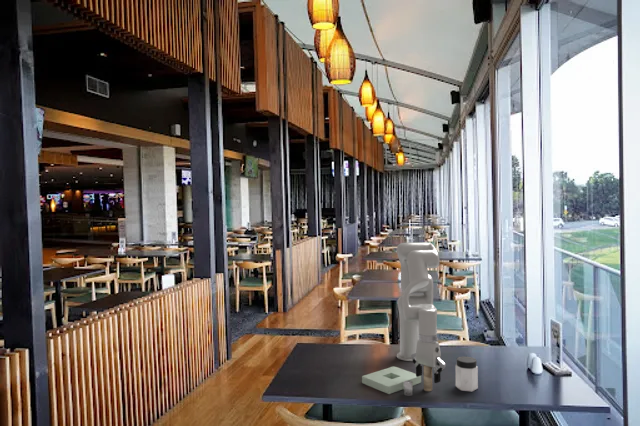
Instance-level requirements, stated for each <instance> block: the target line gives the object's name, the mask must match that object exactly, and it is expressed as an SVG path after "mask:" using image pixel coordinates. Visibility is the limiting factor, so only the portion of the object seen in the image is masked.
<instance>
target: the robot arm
mask: <svg viewBox="0 0 640 426" xmlns="http://www.w3.org/2000/svg"><path fill="white" fill-rule="evenodd" d="M396 254H397V258H398V259H399V263H400V288H401V291H402V292H403V293H402V295H400V296H399V297H398V299H397V309H398V316H399V352H397V354H396V358H397V359H398V360H401V361H405V362H412V363H413V364H414V367H415V374H416V377H418V376H421V377H422V376H423V366H424V365H425V366H428V367H432V370H433V371H434V374H433V377H434V378H433V380H434V381H433V383H434V384H438V383H440V382H441V373H442V372H443V371H444V370H445V368H446V366H447V363H445V362H444V360H442V354H441V348H440V343H439V337H438V326H437V325H438V323H437V322H438V320H437V319H438V317H437V316H438V309H437V308H436V306H435V305H434V279H433V277H432V276H431V275H430V274H429V271H428V269H437V268H439V266H440V255H439V252H438V250H437V248H436V247H435V246H434V244H433V243H432V242H423V241H422V242H401V243H399V244H398V245H397V247H396ZM414 293H415V294H414Z"/></svg>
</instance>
